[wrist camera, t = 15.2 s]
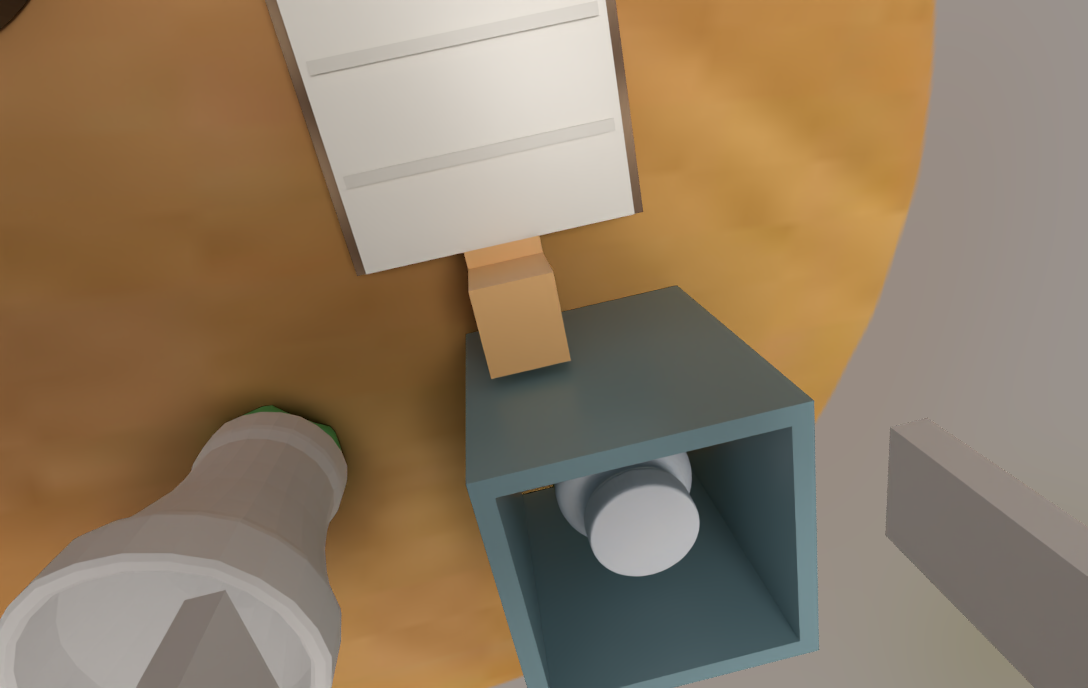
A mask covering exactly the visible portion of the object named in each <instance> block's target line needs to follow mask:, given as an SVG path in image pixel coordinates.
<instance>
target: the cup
mask: <svg viewBox="0 0 1088 688" xmlns="http://www.w3.org/2000/svg"><path fill="white" fill-rule="evenodd" d="M346 482H347V464H346V461H345V459H344V457H343V454H342V451H341V447H340V444H339V442H338V439H337V436H336V433H335V431H334V430H333V429H332V428H331V427H330V426H326V425H322V424H317V423H314V422H311V421H308V420H306V419H304V418H302V417H300V416H296V415H292V414H289V413H287V412H284V411H283V410H281V409H278V408H277V407H275V406H273V405H271V406H263V407H260V408H258V409H256V410H253V411H251V412H249V413H247V414H245V415H243V416H240V417H238V418H236V419H233V420H231V421H229V422H227V423H225V424H224V425H223V426H222V427H221V428H220V429H219V430H217V431H216V432H215V433H214V434H213V435H212V437H211V438H210V439H209V441H208V442H207V443H206V445H205V446H204V447H203V448H202V450H201V452H200V453H199V455H198V457H197V458H196V460H195V462H194V463H193V466H192V470H191V472H190V473H189V474H188V476H187V477H186V478H185V479H184V480H183V481H182V482H181V483H180V484H179V485H178V486H177V487H176V488H175V489H174V490H172V491H171V492H170V493H168V494H167V495H165V496H163V497H162V498H160V499H159V500H157V501H156V502H154V503H152V504H151V505H149V506H148V507H146V508H144V509H143V510H141V511H140V512H138V513H137V514H135V515H133V516H131V517H129V518H124V519H120V520H116V521H113V522H111V523H109V524H106V525H104V526H102V527H99V528H97V529H95V530H92V531H90V532H88V533H85V534H83V535H81V536H79V537H77V538H75V539H74V540H73V541H72V542H71V543H70V544H69V545H68V546H67V547H66V548H65V549H63V550H62V551H61V552H60V553H59V554H58V555H57V556H56V557H55V558H54V559H53V560H52V561H51V562H50V563H49V564H48V565H47V566H46V567H45V568H44V569H43V570H42V572H41V573H40V574H39V575H38V576H37V577H36V578H35V579H34V580H33V581H32V582H31V583H30V584H29V585H28V586H27V587H26V588H25V589H24V590H23V591H22V592H21V593H20V594H19V595H18V596H17V597H16V598H15V599H14V601H13V602H12V603H11V604H10V605H9V606H8V607H7V608H6V610H5V612H4V614H3V616H2V617H1V619H0V688H136V686H137V684H138V682H139V681H140V679H141V677H142V675H143V673H144V672H145V670H146V668H147V666H148V665H149V663H150V661H151V659H152V657H153V656H154V654H155V652H156V650H157V648H158V647H159V645H160V643H161V641H162V640H163V638H164V636H165V634H166V632H167V631H168V629H169V627H170V625H171V623H172V622H173V620H174V618H175V616H176V615H177V613H178V611H179V609H180V607H181V606H182V604H183V602H184V600H187V599H191V598H195V597H199V596H203V595H207V594H211V593H215V592H219V591H223V590H226V592H227V594H228V596H229V597H230V599H231V601H232V603H233V605H234V606H235V608H236V610H237V612H238V614H239V615H240V617H241V619H242V621H243V623H244V624H245V626H246V628H247V630H248V632H249V634H250V635H251V637H252V639H253V641H254V643H255V644H256V646H257V648H258V650H259V652H260V653H261V655H262V657H263V659H264V661H265V662H266V664H267V666H268V668H269V670H270V672H271V673H272V675H273V677H274V679H275V681H276V682H277V684H278V686H279V688H331V686H332V682H333V677H334V672H335V667H336V662H337V657H338V653H339V648H340V643H341V609H340V606H339V604H338V602H337V600H336V598H335V595H334V593H333V591H332V589H331V587H330V584H329V580H328V575H327V569H326V556H325V544H326V535H327V529H328V525H329V523H330V521H331V520H332V518H333V517H334V516H335V514H336V513H337V511H338V509H339V505H340V502H341V499H342V496H343V493H344V489H345V487H346Z"/></svg>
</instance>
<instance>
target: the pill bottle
mask: <svg viewBox="0 0 1088 688" xmlns="http://www.w3.org/2000/svg"><path fill="white" fill-rule="evenodd" d="M691 482H692V471H691V465H690V461H689V458H688V455H687V453H686V452H683V453H679V454H675V455H671V456H667V457H663V458H659V459H655V460H650V461H646V462H642V463H638V464H634V465H630V466H626V467H621V468H617V469H613V470H609V471H605V472H601V473H597V474H592V475H588V476H584V477H580V478H576V479H572V480H568V481H564V482H559V483H555V484H553V487H554V492H555V496H556V499H557V503H558V505H559V508H560V510H561V512H562V514H563V516H564V517H565V519H566V520H567V521H568V522H569V524H570V525H571V526H572V527H573V528H575V529H576V530H577V531H578V532H580V533H581V534H583V535H584V536H586V537H588V540H589V543H590V546H591V549H592V551H593V553H594V555H595V557H596V558H597V559H598V561H599V562H600V563H601V564H602V565H603V566H605V567H606V568H607V569H609V570H611V571H613V572H615V573H617V574H621V575H626V576H646V575H651V574H655V573H658V572H661V571H663V570H666V569H668V568H670V567H671V566H673V565H674V564H676V563H677V562H679V561H680V560H681V559H682V558H683V557H684V556H685V555H686V554H687V553H688V552H689V550H690V549H691V548H692V546H693V544H694V543H695V541H696V538H697V535H698V532H699V525H700V521H699V514H698V510H697V508H696V505H695V504H694V502H693V500H692V498H691V496H690V494H689V493H690V489H691Z"/></svg>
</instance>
